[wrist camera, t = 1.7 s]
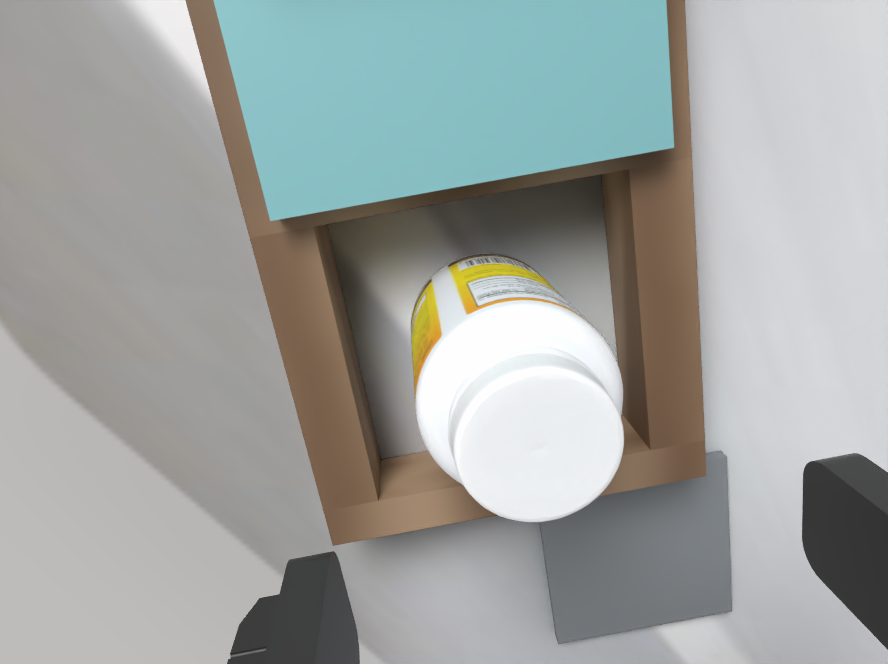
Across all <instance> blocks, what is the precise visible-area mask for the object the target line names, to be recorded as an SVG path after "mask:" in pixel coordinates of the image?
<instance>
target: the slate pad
mask: <svg viewBox="0 0 888 664" xmlns="http://www.w3.org/2000/svg"><path fill="white" fill-rule="evenodd" d="M705 455H706V476H704V477H699V478H694V479H688V480H683V481H677V482H672V483H667V484H661V485H656V486H651V487H645V488H640V489H635V490H629V491H624V492H618V493H613V494H608V495H602V496H598V497H597V498H596V499H595V500H593V501H592V502H591V503H590V504H589V505H587V506H585V507H584V508H582V509H580V510H579V511H577V512H575V513H572V514H570V515H568V516H565V517H562V518H559V519H555V520H551V521H545V522H539V524H540V531H541V538H542V545H543V551H544V558H545V565H546V572H547V579H548V586H549V593H550V600H551V607H552V613H553V620H554V627H555V634H556V638H557V641H558V644H561V643H566V642H571V641H577V640H582V639H587V638H593V637H598V636H603V635H609V634H614V633H619V632H625V631H630V630H635V629H640V628H646V627H651V626H656V625H662V624H667V623H672V622H678V621H683V620H688V619H693V618H699V617H704V616H709V615H715V614H720V613H725V612H731V611H732V596H731V566H730V536H729V507H728V477H727V456H726V455H725V454H724V453H723V452H722V451H717V452H711V453H706V454H705Z"/></svg>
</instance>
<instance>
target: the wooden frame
mask: <svg viewBox="0 0 888 664" xmlns="http://www.w3.org/2000/svg"><path fill="white" fill-rule="evenodd" d="M186 4H187V7H188V11H189V15H190V19H191V22H192V26H193V30H194V33H195V37H196V41H197V44H198V48H199V52H200V56H201V59H202V63H203V67H204V70H205V74H206V78H207V81H208V85H209V89H210V93H211V96H212V100H213V104H214V107H215V111H216V115H217V118H218V122H219V126H220V130H221V133H222V137H223V141H224V144H225V148H226V152H227V155H228V159H229V163H230V167H231V170H232V174H233V178H234V181H235V185H236V189H237V192H238V196H239V200H240V204H241V207H242V211H243V215H244V218H245V222H246V226H247V229H248V233H249V237H250V241H251V244H252V248H253V252H254V255H255V259H256V263H257V266H258V270H259V274H260V278H261V281H262V285H263V289H264V292H265V296H266V300H267V303H268V307H269V311H270V315H271V318H272V322H273V326H274V329H275V333H276V337H277V340H278V344H279V348H280V352H281V355H282V359H283V363H284V366H285V370H286V374H287V377H288V381H289V385H290V389H291V392H292V396H293V400H294V403H295V407H296V411H297V414H298V418H299V422H300V426H301V429H302V433H303V437H304V440H305V444H306V448H307V451H308V455H309V459H310V462H311V466H312V470H313V474H314V477H315V481H316V485H317V488H318V492H319V496H320V499H321V503H322V507H323V511H324V514H325V518H326V522H327V525H328V529H329V533H330V536H331V540H332V544H333V546H334V545H340V544H345V543H350V542H356V541H361V540H367V539H372V538H377V537H383V536H388V535H393V534H399V533H404V532H409V531H415V530H420V529H425V528H431V527H436V526H442V525H447V524H452V523H458V522H463V521H468V520H474V519H479V518H484V517H490V516H495V515H497V514H495V513H493V512H491V511H489V510H487V509H486V508H484V507H483V506H482V505H480V504H479V503H478V502H477V501H476V500H475V499H474V498H473V497H472V496H471V495H470V494H469V493H468V491H467V490H466V488H465V487H464V485H462V484H461V483H459V482H457V481H456V480H455V479H453V478H452V477H451V476H450V475H448V474H447V473H446V472H445V471H444V470H443V469H442V468H441V467H440V466H439V465H438V464H437V462H436V461H435V460H434V459H433V457H432V456H431V454H430V453H429V451H425V452H419V453H414V454H409V455H403V456H398V457H392V458H387V459H382V460H381V457H380V453H379V449H378V444H377V440H376V435H375V431H374V427H373V422H372V418H371V414H370V409H369V405H368V401H367V396H366V392H365V388H364V383H363V379H362V375H361V370H360V366H359V361H358V357H357V353H356V348H355V344H354V340H353V335H352V331H351V327H350V322H349V318H348V314H347V309H346V305H345V301H344V296H343V292H342V288H341V283H340V279H339V274H338V270H337V266H336V261H335V257H334V253H333V248H332V244H331V240H330V235H329V231H328V227H327V224H331V223H336V222H342V221H347V220H353V219H358V218H364V217H369V216H374V215H380V214H385V213H391V212H396V211H402V210H407V209H413V208H418V207H424V206H429V205H435V204H440V203H446V202H451V201H457V200H462V199H468V198H473V197H479V196H484V195H490V194H495V193H501V192H506V191H512V190H517V189H523V188H528V187H534V186H539V185H545V184H550V183H556V182H561V181H567V180H572V179H578V178H583V177H589V176H594V175H600V174H601V180H602V191H603V202H604V213H605V224H606V236H607V247H608V258H609V269H610V280H611V291H612V302H613V313H614V324H615V335H616V346H617V357H618V366H619V370H620V373H621V378H622V383H623V406H622V412H623V415H621V421H622V424H623V430H624V448H623V454H622V458H621V462H620V465H619V467H618V469H617V471H616V473H615V475H614V477H613V479H612V480H611V482H610V484H609V485H608V486H607V487H606V489H605V490H604V491H603V492H602V493H601V494H600V495H599V496H602V495H608V494H613V493H618V492H624V491H629V490H635V489H640V488H645V487H651V486H656V485H661V484H667V483H672V482H677V481H683V480H688V479H694V478H699V477H704V476H706V455H705V433H704V411H703V389H702V367H701V345H700V323H699V302H698V280H697V258H696V236H695V214H694V192H693V170H692V148H691V126H690V105H689V83H688V61H687V39H686V17H685V0H666V4H667V22H668V41H669V59H670V78H671V96H672V115H673V134H674V148H670V149H664V150H659V151H653V152H648V153H642V154H637V155H631V156H626V157H620V158H615V159H609V160H604V161H598V162H593V163H587V164H582V165H576V166H571V167H565V168H560V169H554V170H549V171H543V172H538V173H532V174H527V175H521V176H516V177H510V178H505V179H499V180H494V181H488V182H483V183H477V184H472V185H466V186H461V187H455V188H450V189H444V190H439V191H433V192H428V193H422V194H417V195H411V196H406V197H400V198H395V199H389V200H384V201H378V202H373V203H368V204H362V205H357V206H351V207H346V208H340V209H335V210H329V211H324V212H318V213H313V214H307V215H302V216H296V217H291V218H285V219H280V220H274V221H270V218H269V214H268V210H267V206H266V202H265V198H264V194H263V191H262V187H261V183H260V179H259V175H258V171H257V167H256V163H255V160H254V156H253V152H252V148H251V144H250V140H249V136H248V132H247V129H246V125H245V121H244V117H243V113H242V109H241V105H240V101H239V97H238V94H237V90H236V86H235V82H234V78H233V74H232V70H231V66H230V63H229V59H228V55H227V51H226V47H225V43H224V39H223V35H222V32H221V28H220V24H219V20H218V16H217V12H216V8H215V4H214V0H186Z"/></svg>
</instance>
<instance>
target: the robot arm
mask: <svg viewBox="0 0 888 664" xmlns="http://www.w3.org/2000/svg"><path fill="white" fill-rule="evenodd" d="M802 541H803V547H804V551H805V554H806V557H807V559H808V561H809V563H810V565H811V567H812V569H813V570H814V572H815V573H816V575H817V576H818V577H819V578H820V579H821V580H822V582H823V583H824V584H825V585H826V586H827V587H828V588H829V589H830V590H831V591H832V592H833V593H834V594H835V595H836V596H837V597H838V598H839V599H840V600H841V601H842V602H843V603H844V604H845V606H846V607H847V608H848V609H849V610H850V611H851V612H852V613H853V614H854V615H855V616H856V617H857V618H858V619H859V620H860V621H861V622H862V623H863V624H864V625H865V626H866V627H867V628H868V629H869V631H870V632H871V633H872V634H873V635H874V636H875V637H876V638H877V639H878V640H879V641H880V642H881V643H882V644H883V645H884V646H885V647H886V648H887V649H888V472H886V471H885V470H883V469H882V468H880V467H879V466H877V465H876V464H875V463H873V462H872V461H870V460H869V459H867V458H866V457H864V456H862V455H860V454H856V453H853V454H848V455H842V456H837V457H832V458H827V459H822V460H816V461H811V462H809V463H808V464H807V465H806V466H805V468H804V473H803V518H802ZM230 654H231V659H228V663H227V664H360V660H359V643H358V635H357V629H356V624H355V620H354V616H353V613H352V609H351V605H350V601H349V598H348V594H347V590H346V586H345V582H344V579H343V575H342V571H341V567H340V563H339V560H338V557H337V555H336V553H335V552H334V551H333V552H327V553H322V554H317V555H312V556H306V557H301V558H296V559H291V560H289V561H288V563H287V566H286V570H285V574H284V578H283V583H282V587H281V591H280V594H279V595H274V596H269V597H263V598H259V600H258V601H257V603H256V604H255V605H254V606H253V608H252V609H251V610H250V611H249V613H248V614H247V615H246V617H245V618H244V619H243V621H242V622H241V623H240V625H239V627H238V631H237V634H236V637H235V640H234V643H233V646H232V650H231V653H230Z"/></svg>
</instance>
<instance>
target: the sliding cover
mask: <svg viewBox="0 0 888 664" xmlns="http://www.w3.org/2000/svg"><path fill="white" fill-rule="evenodd" d="M214 4H215V8H216V12H217V16H218V20H219V24H220V28H221V32H222V35H223V39H224V43H225V47H226V51H227V55H228V59H229V63H230V66H231V70H232V74H233V78H234V82H235V86H236V90H237V94H238V97H239V101H240V105H241V109H242V113H243V117H244V121H245V125H246V129H247V132H248V136H249V140H250V144H251V148H252V152H253V156H254V160H255V163H256V167H257V171H258V175H259V179H260V183H261V187H262V191H263V194H264V198H265V202H266V206H267V210H268V214H269V218H270V221H274V220H280V219H285V218H291V217H296V216H302V215H307V214H313V213H318V212H324V211H329V210H335V209H340V208H346V207H351V206H357V205H362V204H368V203H373V202H378V201H384V200H389V199H395V198H400V197H406V196H411V195H417V194H422V193H428V192H433V191H439V190H444V189H450V188H455V187H461V186H466V185H472V184H477V183H483V182H488V181H494V180H499V179H505V178H510V177H516V176H521V175H527V174H532V173H538V172H543V171H549V170H554V169H560V168H565V167H571V166H576V165H582V164H587V163H593V162H598V161H604V160H609V159H615V158H620V157H626V156H631V155H637V154H642V153H648V152H653V151H659V150H664V149H670V148H674V134H673V115H672V96H671V78H670V59H669V41H668V22H667V4H666V0H214Z"/></svg>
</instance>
